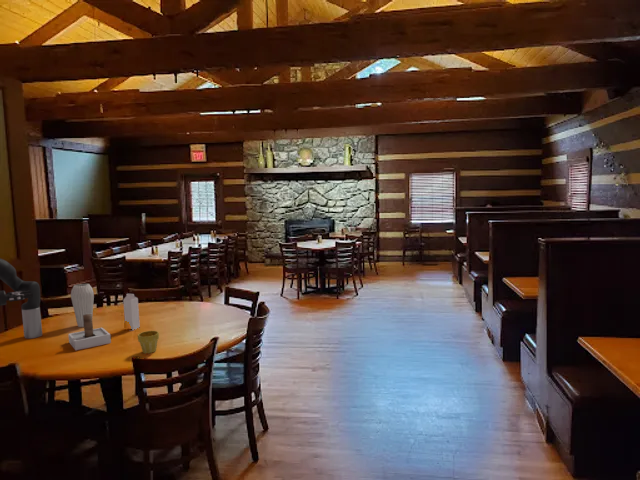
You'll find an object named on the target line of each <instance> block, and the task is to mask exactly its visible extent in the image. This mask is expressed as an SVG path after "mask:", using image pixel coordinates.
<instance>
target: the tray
mask: <svg viewBox="0 0 640 480" xmlns="http://www.w3.org/2000/svg"><path fill="white" fill-rule="evenodd" d="M67 335H68V342H69V344H70V345H71V347H72V348H73V349H74V350H75V351H79V350H83V349H84V350H85V349H89V348H93V347H94V348H95V347H97V346H98V347H99V346H102V345H108V344H111V343H112V340H111V337H112V336H111V333H110V332H108V330H106V329H105V328H103V327H98V328H93V335H94V336H93V337H88V338H85V332H84V330H81V331H76V332H71V333H68V334H67Z"/></svg>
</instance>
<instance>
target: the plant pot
mask: <svg viewBox="0 0 640 480" xmlns="http://www.w3.org/2000/svg"><path fill="white" fill-rule="evenodd" d="M159 333H160V332H159V331H157V330H146V331H142V332H140V333H138V334H137V340H138V341H137V342H139V344H140V347H141V351H142V353H143V354H146V353H148V354H153V353H156V351H157V347H158V340H159V339H160V334H159ZM152 352H153V353H152Z"/></svg>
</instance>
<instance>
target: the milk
mask: <svg viewBox="0 0 640 480" xmlns="http://www.w3.org/2000/svg"><path fill="white" fill-rule="evenodd" d="M122 301H123V312H124V322H125V321H127V322H129V324H130V326H131V329H132V330H131V331H135V330H137V328H138V329H140V328H141V327H140V326H141V325H140V324H141V323H140V310H139V298H138V297H137V296H135V294H134V293H126V295H125V297H124V298H123V299H122ZM139 327H140V328H139ZM134 329H135V330H134Z"/></svg>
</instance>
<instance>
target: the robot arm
mask: <svg viewBox="0 0 640 480" xmlns="http://www.w3.org/2000/svg"><path fill="white" fill-rule="evenodd" d="M0 280H1V281H2V282H3V283H4V284H6V285H7V286H9V288H10V289H11V290H13V291H10V292H9V291H8V292H6V291H5V290H3V289H2V290H0V306H6V305H7V301H8V302H19V301H23V300H25V299H27V301H26V302H24V303H22V304H21V305H20V307H21V316H22V325H23V326H22V327H23V337H24V339H35V338H39V337H42V336H43V328H42V327H43V326H42V316H41V307H40V306H41V287H40V284H39V282H37V281H31V280H30V281H25V280H23V279H21V278H20V277H18V276H17V270H16V268H15V267H14V266H13V265H12V264H11V263H10V262H8V261H7V260H5V259H3V258H0Z"/></svg>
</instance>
